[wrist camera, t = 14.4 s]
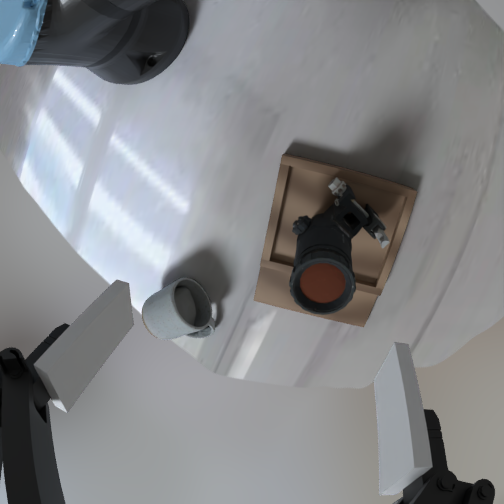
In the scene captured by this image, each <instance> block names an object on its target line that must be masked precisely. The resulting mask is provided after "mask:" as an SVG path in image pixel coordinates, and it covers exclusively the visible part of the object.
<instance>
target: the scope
mask: <svg viewBox="0 0 504 504" xmlns="http://www.w3.org/2000/svg"><path fill="white" fill-rule="evenodd" d="M328 187H329V188H330V189H331V190H332V193H333V194H334V195H335V196H336V195H337V197H338V199H336V200H335V202H334V203H333V204H332V205H331V206H330V207H329V208H328V209H327V210H326V211H325V212H324V213H321V214H317V215H315V216H314V217H312V218H309V217H308V215H305V216H299V217H298V220H295V221H294V223H293V229H292V232H293V233H295V235H298V237H297V244H296V253H295V259H294V262H293V263H294V268H293V270H292V273H291V276H290V281H289V286H290V294H291V296H292V297H293V298H294V302H295V303H296V304H297V305H299V306H300V307H301V308H302V309H303V310H305V311H308V312H311V313H313V314H320V315H327V314H332V313H335V312H338V311H339V310H341V309H343V308H345V307H346V306H347V304H348V303H349V302H350V301H351V300H352V298H353V294H354V293H355V291H356V284H355V282H356V279H355V274H354V272H353V267H352V257H351V251H352V243H351V239H352V238H353V237H354V236H356V235H357V234H358V233H359V231H360V230H361V228H362V227H363V228H364V229H365V230H366V231H367V232H368V233H369V235H370V236H371V237H372V238H373V239H376V238H377V239H378V241H379V243H380V245H381V247H382V248H384V247H385V246H386V245H387V244H389V243H390V242H389V239H388V237H387V236H386V234H385V232H384V230H385V229H386V226H385V224H384V223H383V222H382V221H381V220H380V219H379V215H378V214H377V213H376V212H375V211H374V210H373V209H372V208H371V207H370V206H369V205H368V204H366V208H365V209H363V208H362V207H361V206H360V205H359V204H358V203H357V202H356V201H355V199H356V198H355V195H354V193H353V191H352V188H351V187H350V186H349V185H348V184H347V183H345V182H344V181H340V180H339V179H338V178H337V177H336V178H335V179H333V180H332V181H331V182H330V184H329V185H328ZM348 212H352V213H351V214H347V213H348Z"/></svg>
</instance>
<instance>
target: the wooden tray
mask: <svg viewBox="0 0 504 504" xmlns="http://www.w3.org/2000/svg"><path fill="white" fill-rule="evenodd" d="M336 177H337V178H338V179H339V180H340V181H344V182H345V183H347V184H348V185H349V186H350V187H351V188H352V191H353V193H354V195H355V198H356V199H355V201H356V202H357V203H358V204H359V205H360V206H361V207H362V208H363V209H365V208H366V204H368V205H369V206H370V207H371V208H372V209H373V210H374V211H375V212H376V213H377V214H378V215H379V219H380V220H381V221H382V222H383V223H384V224H385V226H386V229H385V230H384V232H385V234H386V236H387V237H388V239H389V242H390V243H389V244H387V245H386V246H385V247H384V248H382V247H381V245H380V243H379V241H378V239H377V238H376V239H373V238H372V237H371V236H370V235H369V233H368V232H367V231H366V230H365V229H364V228H363V227H362V228H361V230H360V231H359V233H358V234H357V235H356V236H354V237H353V238H352V239H351V243H352V251H351V257H352V267H353V272H354V274H355V279H356V282H355V284H356V291H355V293H354V294H353V298H352V300H351V301H350V302H349V303H348V304H347V306H346V307H345V308H343V309H341V310H339V311H338V312H335V313H332V314H327V315H320V314H313V313H311V312H308V311H305V310H303V309H302V308H301V307H300V306H299V305H297V304H296V303H295V302H294V298H293V297H292V296H291V294H290V286H289V281H290V276H291V273H292V270H293V268H294V263H293V262H294V259H295V253H296V244H297V237H298V235H295V233H293V232H292V229H293V223H294V221H295V220H298V217H299V216H305V215H308V217H309V218H312V217H314V216H315V215H317V214H321V213H324V212H325V211H326V210H327V209H328V208H329V207H330V206H331V205H332V204H333V203H334V202H335V200H336V199H338V197H337V195H336V196H335V195H334V194H333V193H332V190H331V189H330V188H329V187H328V185H329V184H330V182H331V181H332V180H333V179H335V178H336ZM416 195H417V191H416V190H414V189H413V188H411V187H407V186H404V185H401V184H398V183H395V182H392V181H388V180H385V179H382V178H378V177H375V176H372V175H368V174H365V173H361V172H357V171H354V170H350V169H346V168H343V167H339V166H335V165H331V164H327V163H323V162H319V161H315V160H311V159H306V158H302V157H298V156H293V155H289V154H283V155H282V158H281V163H280V168H279V174H278V179H277V184H276V189H275V194H274V199H273V204H272V209H271V214H270V219H269V224H268V229H267V234H266V239H265V244H264V249H263V253H262V258H261V263H260V266H261V267H260V272H259V277H258V282H257V286H256V291H255V296H254V301H257V302H261V303H265V304H269V305H272V306H276V307H280V308H284V309H288V310H292V311H296V312H300V313H304V314H309V315H313V316H317V317H321V318H325V319H330V320H334V321H338V322H343V323H347V324H351V325H356V326H360V327H364V326H365V324H366V321H367V319H368V317H369V315H370V312H371V310H372V308H373V305H374V303H375V301H376V298H377V296H378V295H379V296H380V295H381V293H382V290H383V288H384V286H385V283H386V281H387V278H388V276H389V273H390V270H391V268H392V265H393V263H394V260H395V257H396V255H397V252H398V249H399V246H400V244H401V241H402V238H403V235H404V232H405V229H406V226H407V223H408V220H409V217H410V214H411V211H412V208H413V205H414V201H415V198H416ZM351 213H352V212H348V213H347V214H351Z"/></svg>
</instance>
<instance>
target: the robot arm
mask: <svg viewBox="0 0 504 504" xmlns="http://www.w3.org/2000/svg"><path fill="white" fill-rule="evenodd" d="M188 28H189V15H188V10H187V7H186V5H185V3H184V1H183V0H0V64H11V65H16V66H24V65H59V66H75V67H86V68H87V69H89V70H90V71H91V72H93V73H94V74H96V75H97V76H99V77H100V78H102V79H104V80H106V81H108V82H111V83H116V84H127V85H131V84H138V83H142V82H145V81H148V80H150V79H152V78H154V77H155V76H157V75H158V74H160V73H161V72H162V71H164V70H165V69H166V68H167V67H168V66H169V65H170V64H171V63H172V62H173V61H174V59H175V58H176V57H177V55H178V54H179V52H180V51H181V49H182V47H183V45H184V43H185V40H186V37H187V33H188ZM133 325H134V321H133V314H132V306H131V298H130V288H129V283H127V282H123V281H120V280H116V281H115V282H114V283H112V284H111V285H110V286H109V287H108V288H107V289H106V290H105V291H104V292H103V293H102V294H101V295H100V296H99V297H98V298H97V299H96V300H95V301H94V302H93V303H92V304H91V305H90V306H89V307H88V308H87V309H86V310H85V311H84V312H83V313H82V314H81V315H80V316H79V317H78V318H77V319H76V320H75V321H74V322H73V323H72V324H71V325H68V324H63V325H61V326H59V327H57V328H55V330H54V331H52V332H51V334H49V337H47V338H46V339H45V340H44V342H42V343H41V344H40V345H39V346H38V347H37V348H36V349H35V350H34V351H33V352H32V353H31V354H30V355H29V356H28V357H27V359H26V360H25V359H24V357H23V355H22V353H21V352H20V350H18V349H16V348H7V349H4V350H3V351H1V352H0V478H1V470H2V462H3V467H4V477H5V485H6V492H7V498H8V504H65V500H64V496H63V492H62V488H61V483H60V479H59V474H58V469H57V464H56V459H55V453H54V446H53V439H52V432H51V424H50V414H49V406H48V403H47V402H48V401H49V400H50V398H51V400H52V401H53V403H54V405H55V406H56V407H58V408H60V409H62V410H63V411H65V412H67V413H68V412H69V410H70V409H71V408H72V406H73V405H74V403H75V402H76V401H77V399H78V398H79V397H80V395H81V394H82V392H83V391H84V390H85V388H86V387H87V386H88V384H89V383H90V382H91V380H92V379H93V378H94V376H95V375H96V374H97V372H98V371H99V370H100V368H101V367H102V366H103V364H104V363H105V362H106V360H107V359H108V358H109V356H110V355H111V354H112V352H113V351H114V350H115V348H116V347H117V346H118V345H119V343H120V342H121V341H122V339H123V338H124V337H125V335H126V334H127V333H128V332H129V330H130V329H131V328H132V327H133ZM374 387H375V398H376V412H377V426H378V447H379V495H396V494H398V493H399V492H400V491H402V490H403V497H402V498H400V499H399V500H397V501H396V502H394V503H393V504H493V500H494V496H495V489H494V486H493V484H492V483H491V482H490V481H489V480H487V479H481V480H478V481H477V482H476V483H474V484H471V483H466V482H462V481H458V480H457V478H456V476H455V475H454V474H453V473H452V472H451V471H449V470H448V467H447V461H446V455H445V449H444V443H443V439H442V432H441V431H440V430H441V427H440V422H439V419H438V417H437V415H436V414H435V412H434V410H426V409H423V405H422V399H421V395H420V390H419V385H418V381H417V377H416V372H415V368H414V364H413V360H412V356H411V352H410V348H409V344H405V343H398V342H394V344H393V346H392V348H391V350H390V352H389V353H388V355H387V357H386V359H385V361H384V363H383V365H382V366H381V368H380V370H379V372H378V373H377V375H376V377H375V379H374Z"/></svg>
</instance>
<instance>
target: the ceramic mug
mask: <svg viewBox="0 0 504 504" xmlns="http://www.w3.org/2000/svg"><path fill="white" fill-rule="evenodd" d="M142 319H143V322H144V325H145V327H146V328H147V330H148V331H149V332H150V333H151V334H152V335H153V336H154V337H156V338H159V339H162V340H168V339H174V338H178V337H180V336H183V335H186V336H189V337H193V338H204V337H209V336H211V335H212V334H213V333H214V331H215V321H214V319H213V318H212V307H211V303H210V300H209V298H208V295H207V294H206V292H205V290H204V289H203V288H202V286H201V285H200V284H199V283H197V282H196V281H195V280H193V279H191V278H180V279H178V280H176V281H175V282H173V283H172V284H170V285H168V286H166V287H165V288H163V289H162V290H160V291H158V292H156V293H155V294H153V295H151V296H150V297H149V298H148V299H147V300H146V301H145V303H144V305H143V308H142ZM208 325H209V326H210V327H208V328H206V327H207V326H208ZM204 328H205V329H204Z"/></svg>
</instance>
